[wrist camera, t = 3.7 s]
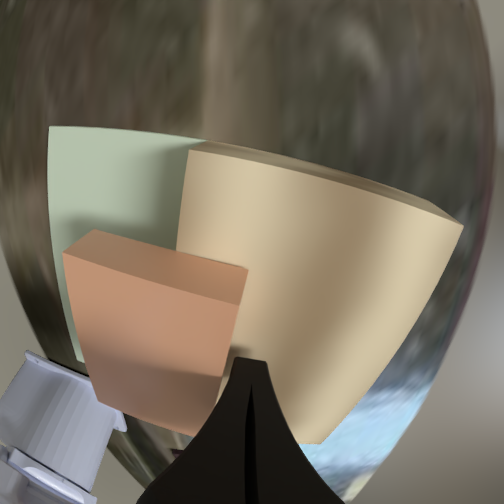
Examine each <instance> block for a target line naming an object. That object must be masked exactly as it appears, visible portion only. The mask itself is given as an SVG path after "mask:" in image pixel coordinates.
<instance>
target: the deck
mask: <svg viewBox="0 0 504 504" xmlns="http://www.w3.org/2000/svg"><path fill="white" fill-rule="evenodd" d="M463 227H464V226H463V225H462V224H460V223H459V222H458V221H456V220H455V219H454V218H452V217H451V216H450V215H448V214H447V213H445V212H444V211H443V210H441V209H440V208H438V207H437V206H435V205H434V204H432V203H431V202H429V201H428V200H425V199H422V198H420V197H417V196H415V195H412V194H409V193H406V192H404V191H401V190H398V189H395V188H392V187H390V186H387V185H384V184H381V183H378V182H375V181H372V180H369V179H366V178H363V177H359V176H356V175H353V174H350V173H346V172H343V171H340V170H336V169H333V168H329V167H326V166H322V165H318V164H315V163H311V162H307V161H303V160H299V159H295V158H291V157H287V156H283V155H279V154H275V153H270V152H266V151H261V150H257V149H252V148H247V147H242V146H237V145H232V144H227V143H221V142H216V141H210V140H208V141H206V142H203V143H201V144H199V145H197V146H195V147H193V148H191V149H189V153H188V159H187V165H186V172H185V179H184V186H183V193H182V201H181V209H180V217H179V226H178V235H177V245H176V251H178V252H182V253H186V254H189V255H193V256H197V257H201V258H205V259H209V260H213V261H217V262H221V263H224V264H228V265H232V266H236V267H240V268H244V269H248V270H249V272H248V276H247V280H246V284H245V288H244V292H243V296H242V300H241V304H240V309H239V313H238V317H237V321H236V325H235V329H234V333H233V337H232V341H231V345H230V349H229V354H228V358H227V362H226V366H225V370H224V374H223V378H222V382H221V386H220V390H219V394H218V399H217V402H218V400H219V398H220V397H221V395H222V392H223V390H224V388H225V386H226V384H227V382H228V379H229V375H230V372H231V368H232V364H233V361H234V358H235V357H237V356H239V357H244V358H250V359H256V360H262V361H266V362H267V364H268V369H269V374H270V377H271V381H272V384H273V388H274V391H275V394H276V397H277V399H278V402H279V405H280V407H281V410H282V412H283V415H284V417H285V419H286V422H287V424H288V426H289V428H290V430H291V432H292V434H293V436H294V438H295V440H296V441H297V443H298V444H321V443H322V442H323V441H324V440H325V439H326V438H327V437H328V436H329V435H330V434H331V433H332V432H333V431H334V429H335V428H336V427H337V426H338V425H339V424H340V423H341V422H342V421H343V419H344V418H345V417H346V416H347V415H348V414H349V413H350V411H351V410H352V409H353V408H354V407H355V406H356V404H357V403H358V402H359V401H360V399H361V398H362V397H363V396H364V395H365V393H366V392H367V391H368V389H369V388H370V387H371V386H372V384H373V383H374V382H375V380H376V379H377V378H378V376H379V375H380V374H381V372H382V371H383V370H384V368H385V367H386V366H387V364H388V363H389V361H390V360H391V358H392V357H393V356H394V354H395V353H396V351H397V350H398V348H399V347H400V345H401V344H402V342H403V341H404V339H405V338H406V336H407V335H408V333H409V331H410V330H411V328H412V327H413V325H414V323H415V322H416V320H417V318H418V317H419V315H420V313H421V312H422V310H423V308H424V307H425V305H426V303H427V301H428V299H429V298H430V296H431V294H432V292H433V290H434V288H435V287H436V285H437V283H438V281H439V279H440V277H441V275H442V273H443V271H444V269H445V267H446V265H447V263H448V261H449V259H450V257H451V254H452V252H453V250H454V248H455V246H456V243H457V241H458V239H459V236H460V234H461V232H462V229H463ZM216 404H217V403H216Z"/></svg>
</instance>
